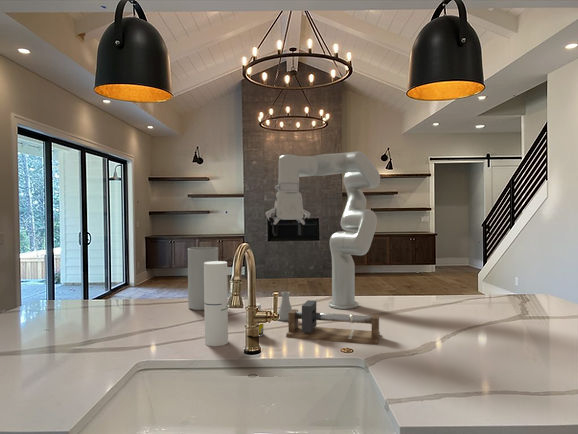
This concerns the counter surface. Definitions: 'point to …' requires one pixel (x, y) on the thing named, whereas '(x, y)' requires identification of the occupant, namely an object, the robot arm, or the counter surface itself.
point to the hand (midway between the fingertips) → (288, 235)
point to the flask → (284, 307)
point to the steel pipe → (337, 317)
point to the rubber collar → (308, 316)
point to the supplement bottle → (260, 324)
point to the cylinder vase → (198, 274)
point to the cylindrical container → (216, 303)
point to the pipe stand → (335, 332)
